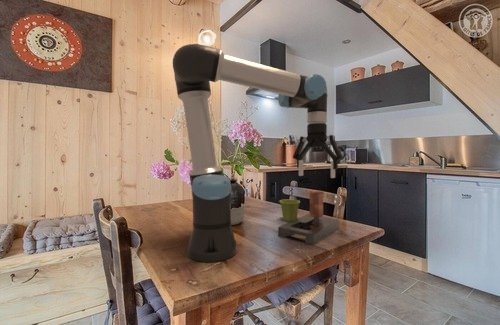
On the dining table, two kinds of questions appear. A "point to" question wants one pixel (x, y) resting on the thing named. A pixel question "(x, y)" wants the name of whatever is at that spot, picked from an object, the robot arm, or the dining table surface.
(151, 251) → the dining table surface
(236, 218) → the teacup
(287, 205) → the plant pot
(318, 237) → the slot bracket
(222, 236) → the robot arm
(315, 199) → the peg
